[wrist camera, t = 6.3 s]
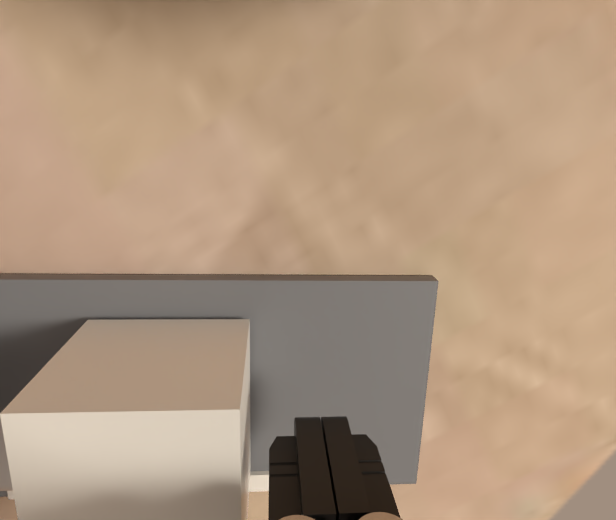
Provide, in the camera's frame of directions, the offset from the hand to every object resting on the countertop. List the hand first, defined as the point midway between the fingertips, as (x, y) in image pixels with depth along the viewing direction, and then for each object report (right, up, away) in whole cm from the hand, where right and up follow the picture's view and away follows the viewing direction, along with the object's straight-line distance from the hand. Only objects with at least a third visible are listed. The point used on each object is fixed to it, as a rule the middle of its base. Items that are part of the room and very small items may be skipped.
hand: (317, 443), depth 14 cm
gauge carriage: (-6, 0, +2) cm, 6 cm away
